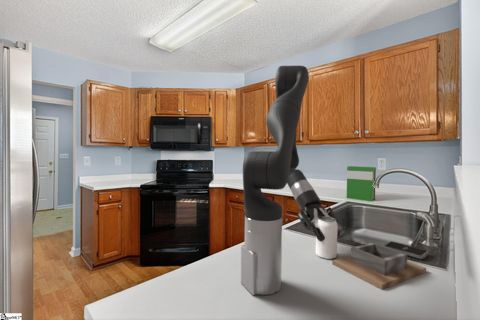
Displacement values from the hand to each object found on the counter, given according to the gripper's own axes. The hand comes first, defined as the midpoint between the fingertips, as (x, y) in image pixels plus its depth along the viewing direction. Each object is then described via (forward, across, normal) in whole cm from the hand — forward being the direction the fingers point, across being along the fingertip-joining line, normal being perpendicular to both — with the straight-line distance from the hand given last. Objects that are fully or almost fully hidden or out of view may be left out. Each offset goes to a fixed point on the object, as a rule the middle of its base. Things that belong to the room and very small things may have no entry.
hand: (330, 238), depth 77 cm
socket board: (+12, +7, -4) cm, 15 cm away
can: (+3, 0, +6) cm, 7 cm away
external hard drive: (+11, +26, -1) cm, 28 cm away
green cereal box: (-41, +102, +50) cm, 121 cm away
